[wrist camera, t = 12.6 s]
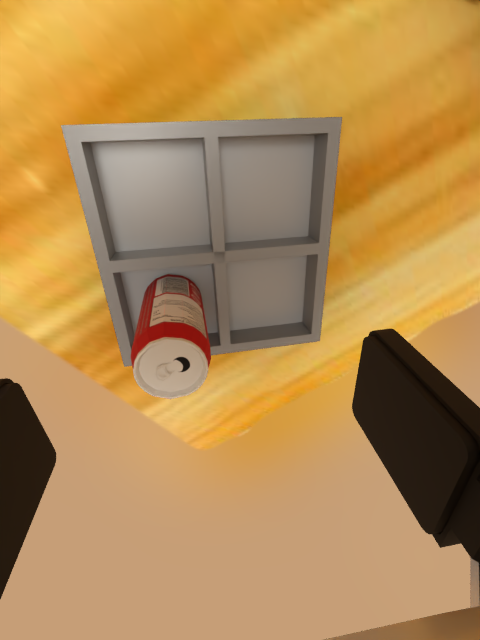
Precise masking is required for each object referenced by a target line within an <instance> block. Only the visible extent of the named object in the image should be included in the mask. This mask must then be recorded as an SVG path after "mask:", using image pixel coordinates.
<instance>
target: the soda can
mask: <svg viewBox="0 0 480 640" xmlns="http://www.w3.org/2000/svg"><path fill="white" fill-rule="evenodd" d="M210 360H211V350H210V343H209V338H208V332H207V326H206V320H205V314H204V308H203V302H202V296H201V293H200V290H199V289H198V287H197V286H196V284H195V283H194V282H192V281H191V280H190V279H188V278H186V277H184V276H181V275H171V274H167V275H164V276H161V277H159V278H156V279H155V280H154V281H153V282H152V283H151V284H150V285H149V286H148V287H147V289H146V291H145V293H144V297H143V301H142V306H141V310H140V315H139V319H138V323H137V328H136V332H135V336H134V341H133V345H132V350H131V362H132V367H133V373H134V378H135V380H136V382H137V384H138V385H139V386H140V387H141V388H142V389H143V390H144V391H145V392H147V393H148V394H150V395H152V396H156V397H161V398H167V399H173V398H178V397H182V396H186V395H189V394H191V393H193V392H195V391H196V390H197V389H198V388H199V387H200V386H201V385H202V384H203V382H204V381H205V379H206V377H207V373H208V367H209V364H210Z"/></svg>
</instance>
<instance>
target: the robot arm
mask: <svg viewBox="0 0 480 640" xmlns="http://www.w3.org/2000/svg"><path fill="white" fill-rule="evenodd" d="M352 409H353V413H354V416H355V418H356V420H357V421H358V423H359V425H360V426H361V428H362V430H363V431H364V433H365V435H366V436H367V438H368V440H369V441H370V443H371V444H372V446H373V448H374V450H375V451H376V453H377V454H378V456H379V458H380V459H381V461H382V463H383V464H384V466H385V468H386V469H387V471H388V473H389V474H390V476H391V477H392V479H393V481H394V483H395V484H396V486H397V488H398V489H399V491H400V492H401V494H402V496H403V497H404V499H405V501H406V502H407V504H408V506H409V507H410V509H411V511H412V512H413V514H414V516H415V517H416V519H417V520H418V522H419V524H420V526H421V527H422V528H423V530H424V531H425V532H426V533H428V534H432V535H433V537H434V538H435V540H436V542H437V543H438V545H439V546H440V548H441V547H445V546H450V545H455V544H460V543H461V544H462V545H463V547H464V548H465V549H466V551H467V552H468V554H469V555H470V558H471V559H470V560H471V561H470V565H471V566H470V568H471V569H470V573H471V574H470V575H471V577H470V579H471V580H470V589H471V590H470V605H471V606H470V608H468V609H463V610H458V611H452V612H447V613H442V614H438V615H433V616H429V617H424V618H420V619H415V620H411V621H406V622H401V623H397V624H393V625H388V626H384V627H379V628H375V629H370V630H366V631H361V632H356V633H352V634H347V635H343V636H339V637H334V638H329V639H325V640H480V408H479V407H478V406H477V405H476V404H475V403H474V402H473V401H472V400H470V399H469V398H468V397H467V396H466V395H465V394H464V393H463V392H462V391H461V390H460V389H458V388H457V387H456V386H455V385H454V384H453V383H452V382H451V381H450V380H449V379H448V378H446V377H445V376H444V375H443V374H442V373H441V372H440V371H439V370H438V369H437V368H436V367H435V366H433V365H432V364H431V363H430V362H429V361H428V360H427V359H426V358H425V357H424V356H422V355H421V354H420V353H419V352H418V351H417V350H416V349H415V348H414V347H413V346H411V344H410V343H408V342H407V341H406V340H405V339H404V338H403V337H402V336H401V335H400V334H399V333H398V332H396V331H395V330H394V329H384V330H376V331H372V332H370V333H369V336H368V337H365V338H364V340H363V345H362V351H361V357H360V363H359V368H358V374H357V380H356V386H355V392H354V398H353V404H352ZM55 463H56V452H55V449H54V447H53V445H52V443H51V442H50V440H49V438H48V436H47V434H46V432H45V431H44V429H43V427H42V425H41V423H40V421H39V419H38V417H37V415H36V414H35V412H34V410H33V408H32V406H31V404H30V402H29V401H28V399H27V397H26V395H25V393H24V391H23V389H22V387H21V386H20V385H19V384H18V383H14V382H13V381H12V380H10V379H0V599H1V596H2V594H3V591H4V589H5V586H6V584H7V582H8V579H9V577H10V574H11V572H12V569H13V567H14V564H15V562H16V559H17V557H18V554H19V552H20V550H21V547H22V545H23V542H24V540H25V537H26V535H27V532H28V530H29V527H30V525H31V522H32V520H33V517H34V515H35V512H36V510H37V508H38V505H39V502H40V500H41V498H42V495H43V493H44V490H45V488H46V485H47V483H48V480H49V478H50V475H51V473H52V471H53V468H54V466H55Z"/></svg>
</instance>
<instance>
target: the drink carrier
mask: <svg viewBox="0 0 480 640" xmlns="http://www.w3.org/2000/svg"><path fill="white" fill-rule="evenodd" d="M341 123H342V117H326V118H292V119H257V120H223V121H189V122H155V123H121V124H87V125H61V127H62V130H63V134H64V138H65V142H66V146H67V150H68V153H69V157H70V161H71V165H72V169H73V172H74V176H75V180H76V184H77V188H78V192H79V195H80V199H81V203H82V207H83V211H84V214H85V218H86V222H87V226H88V230H89V234H90V237H91V241H92V245H93V249H94V253H95V256H96V260H97V264H98V268H99V272H100V276H101V279H102V283H103V287H104V291H105V295H106V298H107V302H108V306H109V310H110V314H111V317H112V321H113V325H114V329H115V333H116V337H117V340H118V344H119V348H120V352H121V356H122V359H123V363H124V367H125V366H132V362H131V350H132V345H133V341H134V336H135V332H136V328H137V323H138V319H139V315H140V310H141V306H142V301H143V297H144V293H145V291H146V289H147V287H148V286H149V285H150V284H151V283H152V282H153V281H154V280H155V279H156V278H159V277H161V276H164V275H167V274H171V275H181V276H184V277H186V278H188V279H190V280H191V281H192V282H194V283H195V284H196V286H197V287H198V289H199V290H200V293H201V296H202V302H203V308H204V314H205V320H206V326H207V332H208V338H209V343H210V350H211V355H217V354H225V353H232V352H240V351H248V350H255V349H263V348H271V347H278V346H286V345H294V344H301V343H309V342H317V341H320V334H321V324H322V314H323V304H324V294H325V284H326V274H327V264H328V254H329V244H330V234H331V224H332V214H333V204H334V194H335V184H336V174H337V163H338V153H339V143H340V133H341Z"/></svg>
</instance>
